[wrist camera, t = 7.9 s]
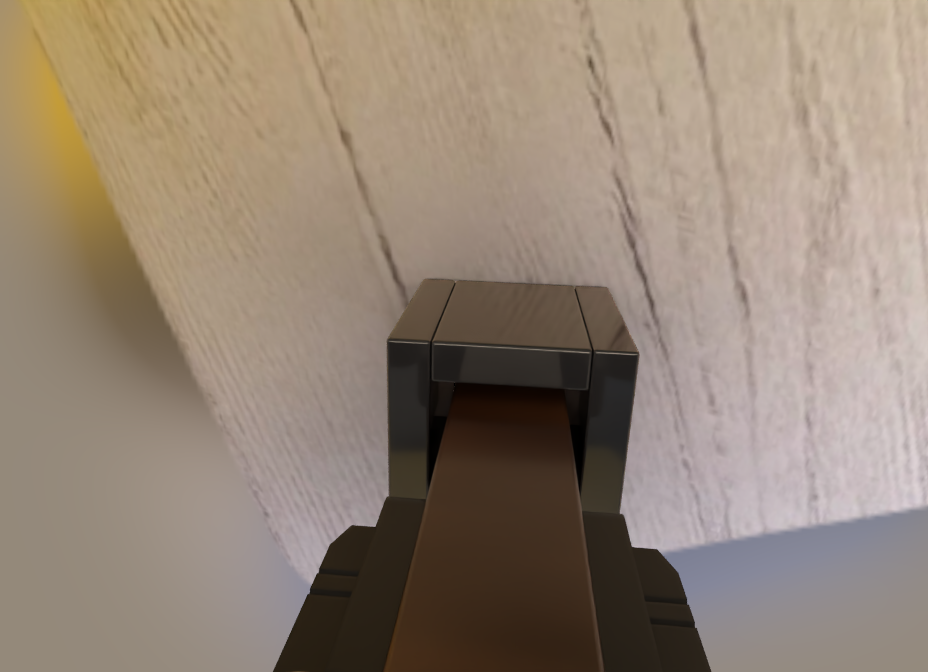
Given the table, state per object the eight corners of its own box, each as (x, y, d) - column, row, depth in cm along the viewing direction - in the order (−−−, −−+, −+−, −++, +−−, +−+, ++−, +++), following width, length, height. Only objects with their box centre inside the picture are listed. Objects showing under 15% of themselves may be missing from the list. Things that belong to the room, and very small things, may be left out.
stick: (467, 404, 19) (378, 856, 7) (469, 326, 18) (375, 695, 6) (550, 409, 18) (591, 880, 7) (556, 330, 18) (614, 719, 6)
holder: (422, 441, 19) (388, 547, 14) (423, 278, 17) (386, 338, 13) (591, 452, 19) (613, 565, 14) (608, 286, 17) (640, 352, 12)
